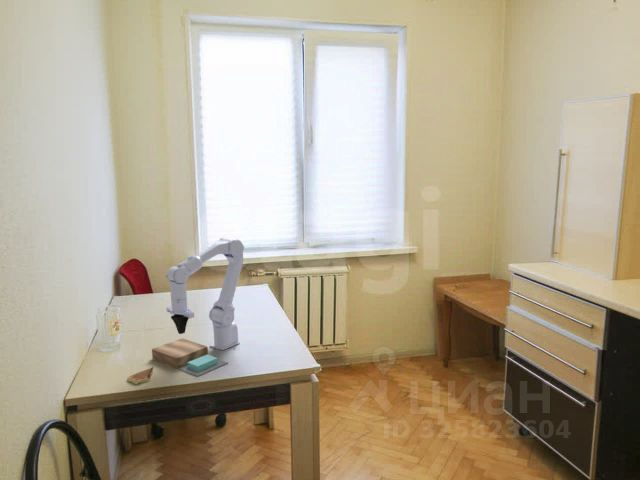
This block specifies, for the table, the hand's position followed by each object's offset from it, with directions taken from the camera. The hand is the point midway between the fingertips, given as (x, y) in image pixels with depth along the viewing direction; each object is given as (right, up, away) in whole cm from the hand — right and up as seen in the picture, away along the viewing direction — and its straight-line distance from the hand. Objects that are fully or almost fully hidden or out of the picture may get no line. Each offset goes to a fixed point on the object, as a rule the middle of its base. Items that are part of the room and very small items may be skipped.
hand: (181, 333), depth 189 cm
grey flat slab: (+10, -11, -6) cm, 16 cm away
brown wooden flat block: (-1, -10, +3) cm, 10 cm away
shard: (-11, -14, -13) cm, 22 cm away
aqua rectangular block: (+9, -9, -6) cm, 14 cm away
